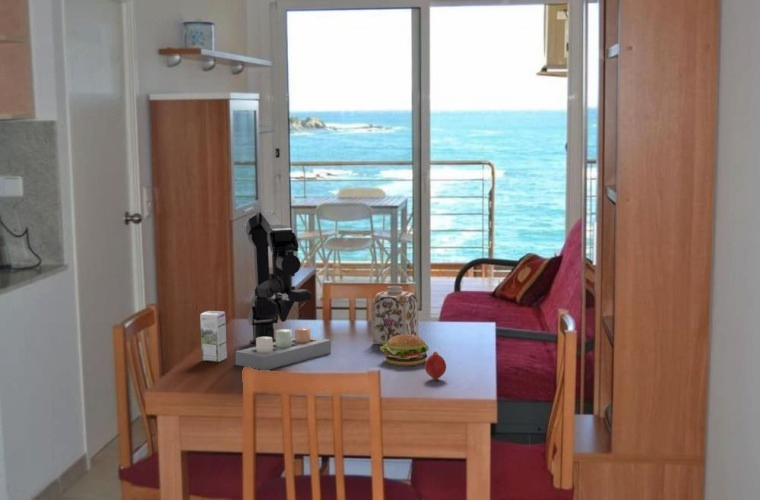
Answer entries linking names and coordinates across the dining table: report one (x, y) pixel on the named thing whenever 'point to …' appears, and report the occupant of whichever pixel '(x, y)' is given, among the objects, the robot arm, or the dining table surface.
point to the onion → (435, 366)
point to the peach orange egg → (302, 335)
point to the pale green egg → (283, 338)
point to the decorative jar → (394, 314)
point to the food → (405, 350)
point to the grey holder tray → (283, 354)
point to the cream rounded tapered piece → (264, 345)
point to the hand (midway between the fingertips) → (283, 321)
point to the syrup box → (213, 336)
